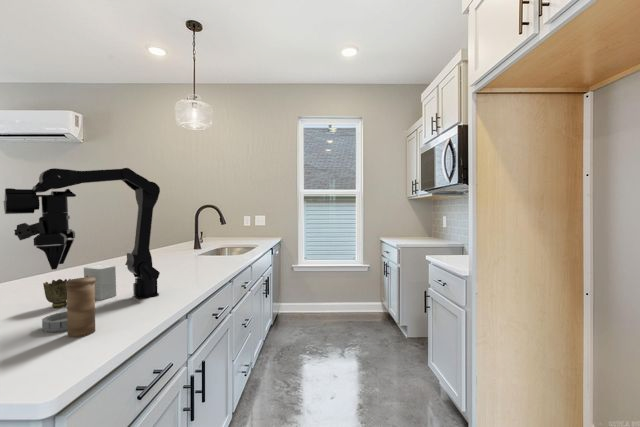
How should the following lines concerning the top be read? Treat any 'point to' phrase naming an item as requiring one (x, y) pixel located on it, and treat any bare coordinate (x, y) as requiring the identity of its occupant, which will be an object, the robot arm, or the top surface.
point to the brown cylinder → (81, 306)
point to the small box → (102, 280)
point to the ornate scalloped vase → (56, 293)
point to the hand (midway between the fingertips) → (57, 266)
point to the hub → (55, 322)
